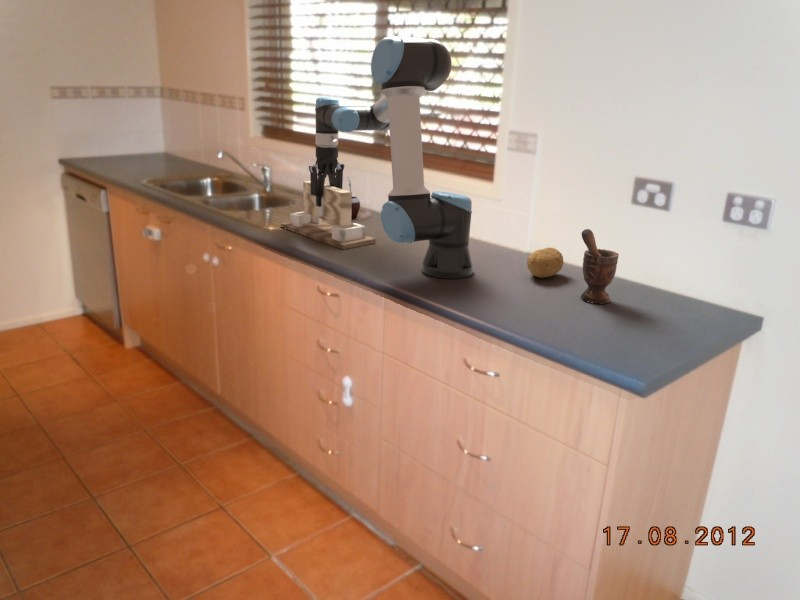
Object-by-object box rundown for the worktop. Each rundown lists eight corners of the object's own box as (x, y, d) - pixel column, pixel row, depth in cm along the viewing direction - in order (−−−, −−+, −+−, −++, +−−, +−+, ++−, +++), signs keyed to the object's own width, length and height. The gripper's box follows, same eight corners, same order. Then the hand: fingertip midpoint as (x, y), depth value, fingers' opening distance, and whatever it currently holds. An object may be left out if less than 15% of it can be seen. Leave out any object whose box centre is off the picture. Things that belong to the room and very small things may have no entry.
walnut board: (375, 243, 224) (375, 238, 224) (342, 249, 215) (343, 245, 214) (312, 222, 249) (312, 218, 248) (280, 227, 239) (280, 223, 239)
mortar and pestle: (598, 310, 170) (610, 234, 163) (567, 302, 175) (577, 228, 168) (616, 300, 178) (627, 227, 172) (585, 292, 183) (595, 221, 177)
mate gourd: (352, 220, 254) (353, 181, 249) (336, 217, 258) (336, 179, 253) (363, 217, 260) (364, 179, 255) (347, 214, 264) (348, 176, 259)
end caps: (365, 237, 224) (365, 226, 223) (342, 242, 218) (342, 230, 216) (312, 220, 245) (312, 210, 243) (290, 224, 238) (290, 213, 237)
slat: (351, 224, 222) (351, 192, 219) (341, 226, 220) (341, 193, 216) (313, 211, 240) (313, 180, 236) (303, 212, 237) (303, 181, 234)
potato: (516, 278, 194) (518, 251, 191) (538, 268, 204) (541, 243, 201) (546, 285, 188) (549, 258, 185) (568, 275, 198) (571, 249, 196)
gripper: (312, 148, 213) (312, 219, 221) (354, 145, 225) (352, 213, 233) (298, 145, 218) (299, 215, 226) (340, 143, 230) (339, 209, 238)
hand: (326, 214), depth 229 cm, fingers closed on slat, 4 cm apart
